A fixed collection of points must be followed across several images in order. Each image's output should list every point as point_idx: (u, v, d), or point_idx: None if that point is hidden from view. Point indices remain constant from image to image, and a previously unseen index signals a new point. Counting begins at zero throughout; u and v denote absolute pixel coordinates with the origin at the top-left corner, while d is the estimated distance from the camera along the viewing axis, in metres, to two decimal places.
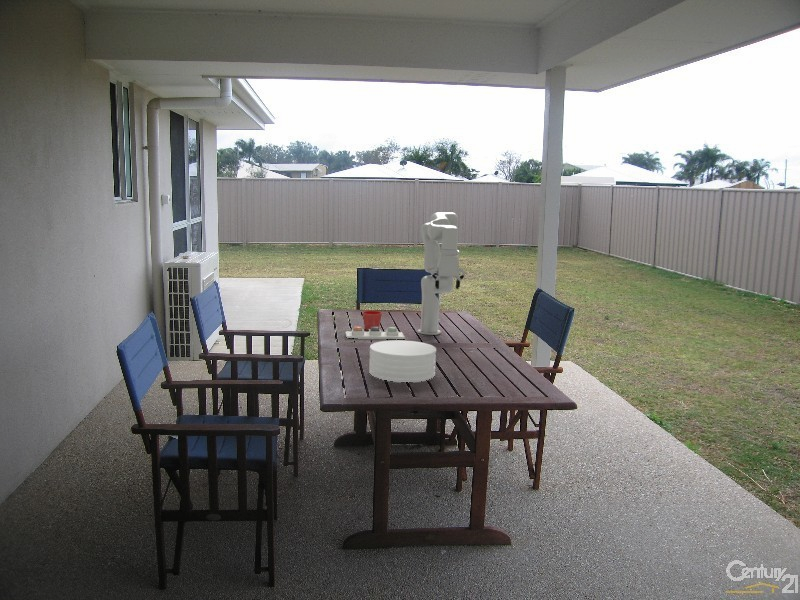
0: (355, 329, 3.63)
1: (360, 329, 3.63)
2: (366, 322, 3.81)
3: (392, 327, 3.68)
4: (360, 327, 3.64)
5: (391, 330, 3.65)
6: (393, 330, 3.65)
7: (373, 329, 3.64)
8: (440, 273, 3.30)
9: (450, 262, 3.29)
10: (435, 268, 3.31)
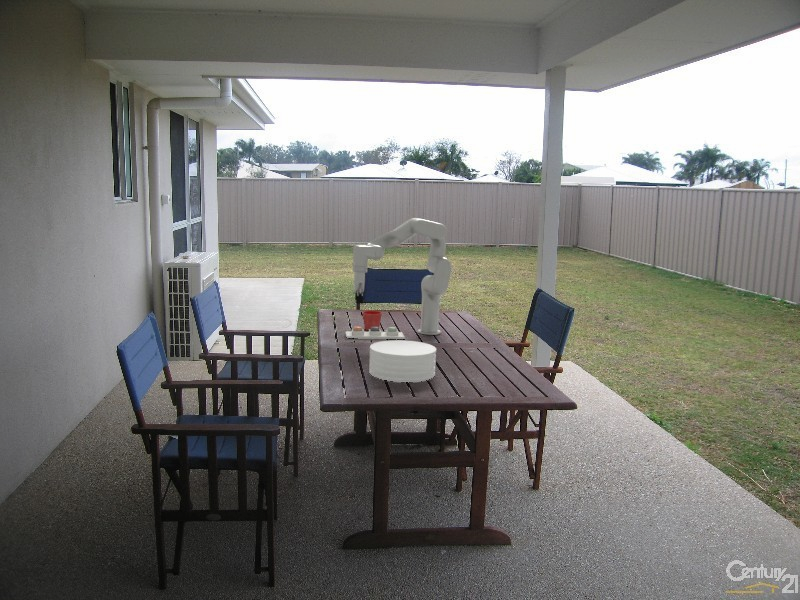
0: (355, 329, 3.63)
1: (360, 329, 3.63)
2: (366, 322, 3.81)
3: (392, 327, 3.68)
4: (360, 327, 3.64)
5: (391, 330, 3.65)
6: (393, 330, 3.65)
7: (373, 329, 3.64)
8: None
9: None
10: (360, 285, 3.55)
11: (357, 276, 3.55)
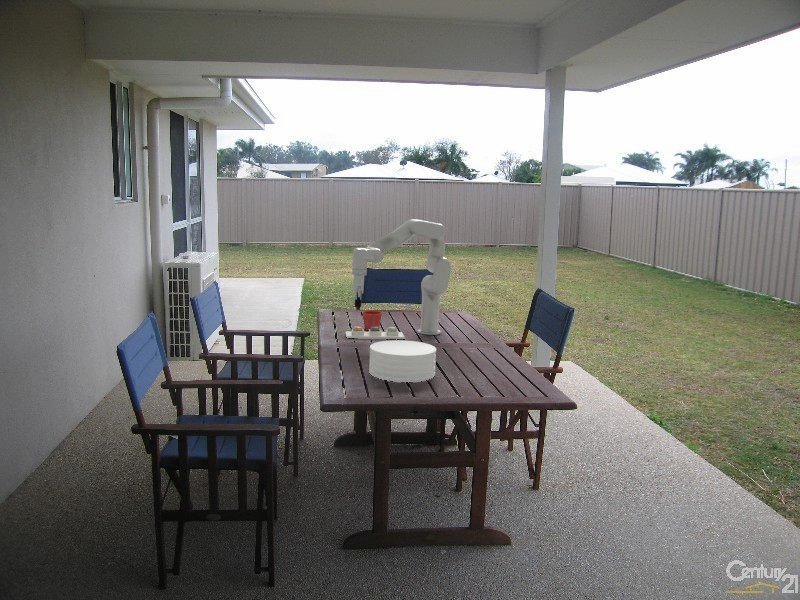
0: (355, 329, 3.63)
1: (360, 329, 3.63)
2: (366, 322, 3.81)
3: (392, 327, 3.68)
4: (360, 327, 3.64)
5: (391, 330, 3.65)
6: (393, 330, 3.65)
7: (373, 329, 3.64)
8: None
9: None
10: (359, 291, 3.57)
11: (356, 279, 3.56)
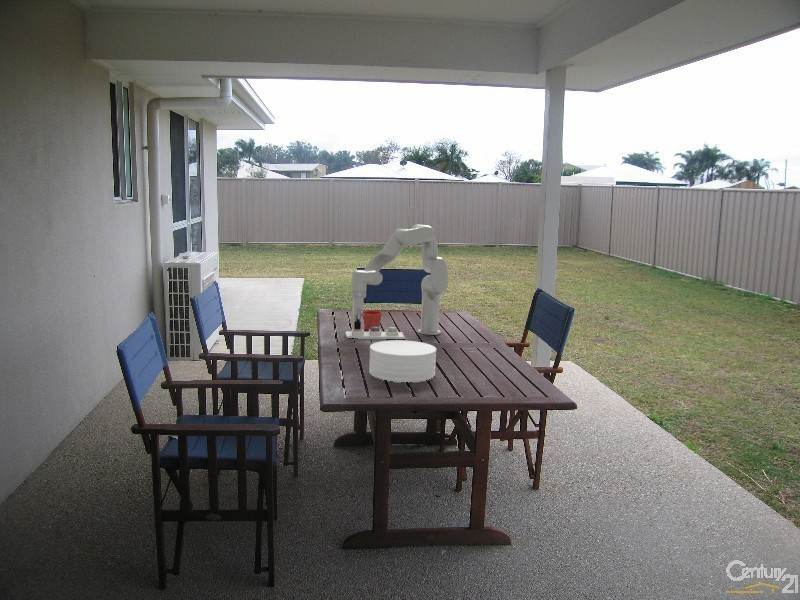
0: None
1: None
2: (366, 322, 3.81)
3: (392, 327, 3.68)
4: (360, 329, 3.65)
5: (391, 330, 3.65)
6: (393, 330, 3.65)
7: (373, 329, 3.64)
8: (362, 314, 3.60)
9: None
10: (358, 313, 3.59)
11: (356, 301, 3.58)
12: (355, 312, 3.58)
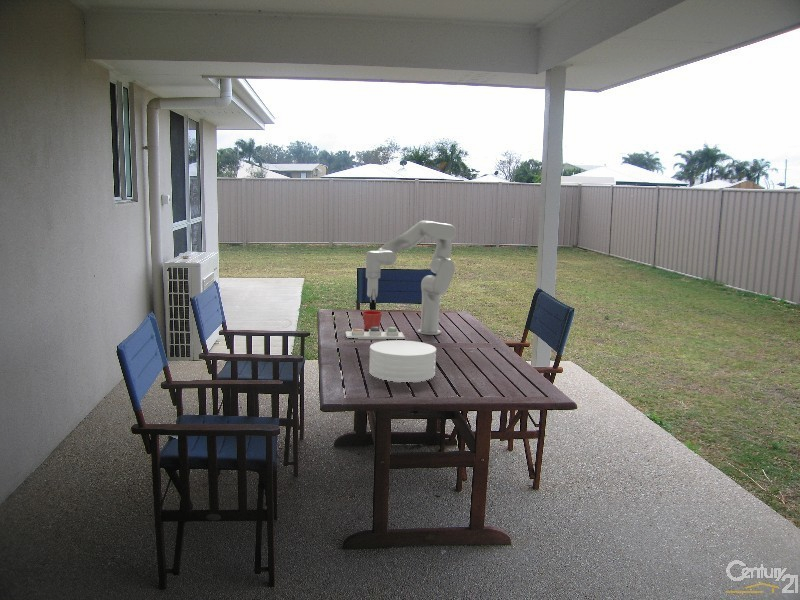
0: None
1: None
2: (366, 322, 3.81)
3: (392, 327, 3.68)
4: (360, 329, 3.65)
5: (391, 330, 3.65)
6: (393, 330, 3.65)
7: (373, 329, 3.64)
8: (377, 294, 3.59)
9: None
10: (373, 294, 3.58)
11: (370, 282, 3.57)
12: (370, 293, 3.58)
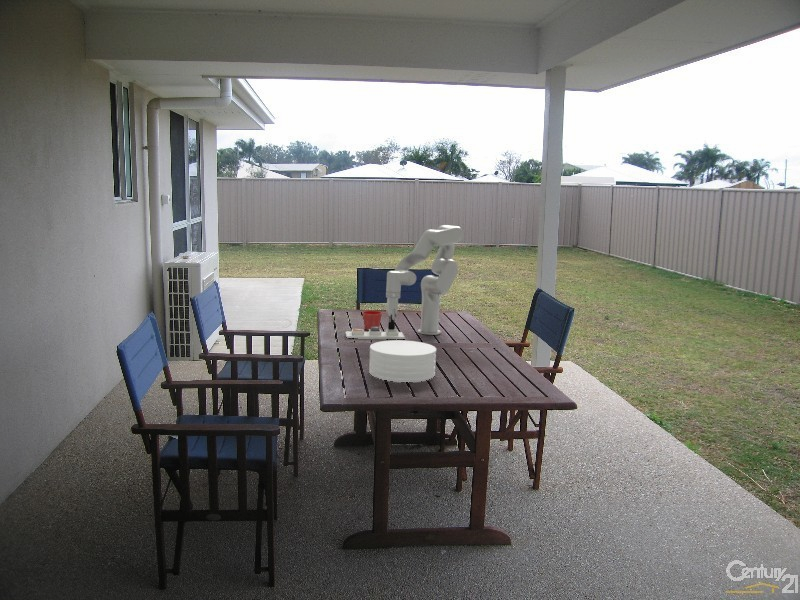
0: None
1: None
2: (366, 322, 3.81)
3: None
4: (360, 329, 3.65)
5: (391, 331, 3.65)
6: (393, 331, 3.65)
7: (373, 329, 3.64)
8: None
9: None
10: (393, 313, 3.61)
11: (390, 302, 3.60)
12: (390, 312, 3.60)
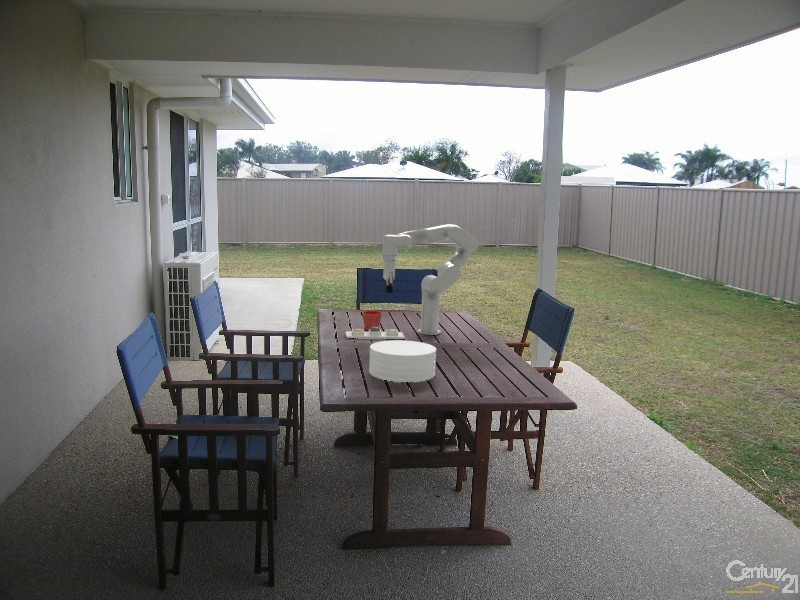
0: None
1: None
2: (366, 322, 3.81)
3: (392, 329, 3.68)
4: (360, 329, 3.65)
5: None
6: None
7: (373, 329, 3.64)
8: (394, 277, 3.66)
9: None
10: (390, 277, 3.65)
11: (388, 265, 3.64)
12: (387, 276, 3.65)
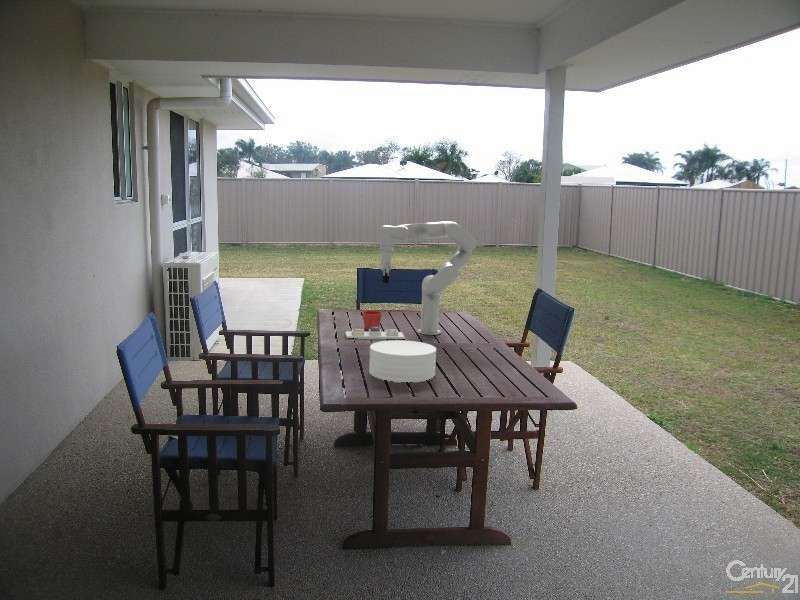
0: None
1: None
2: (366, 322, 3.81)
3: (392, 329, 3.68)
4: (360, 329, 3.65)
5: None
6: None
7: (373, 329, 3.64)
8: (390, 267, 3.70)
9: None
10: (387, 267, 3.69)
11: (384, 255, 3.68)
12: (384, 266, 3.68)
